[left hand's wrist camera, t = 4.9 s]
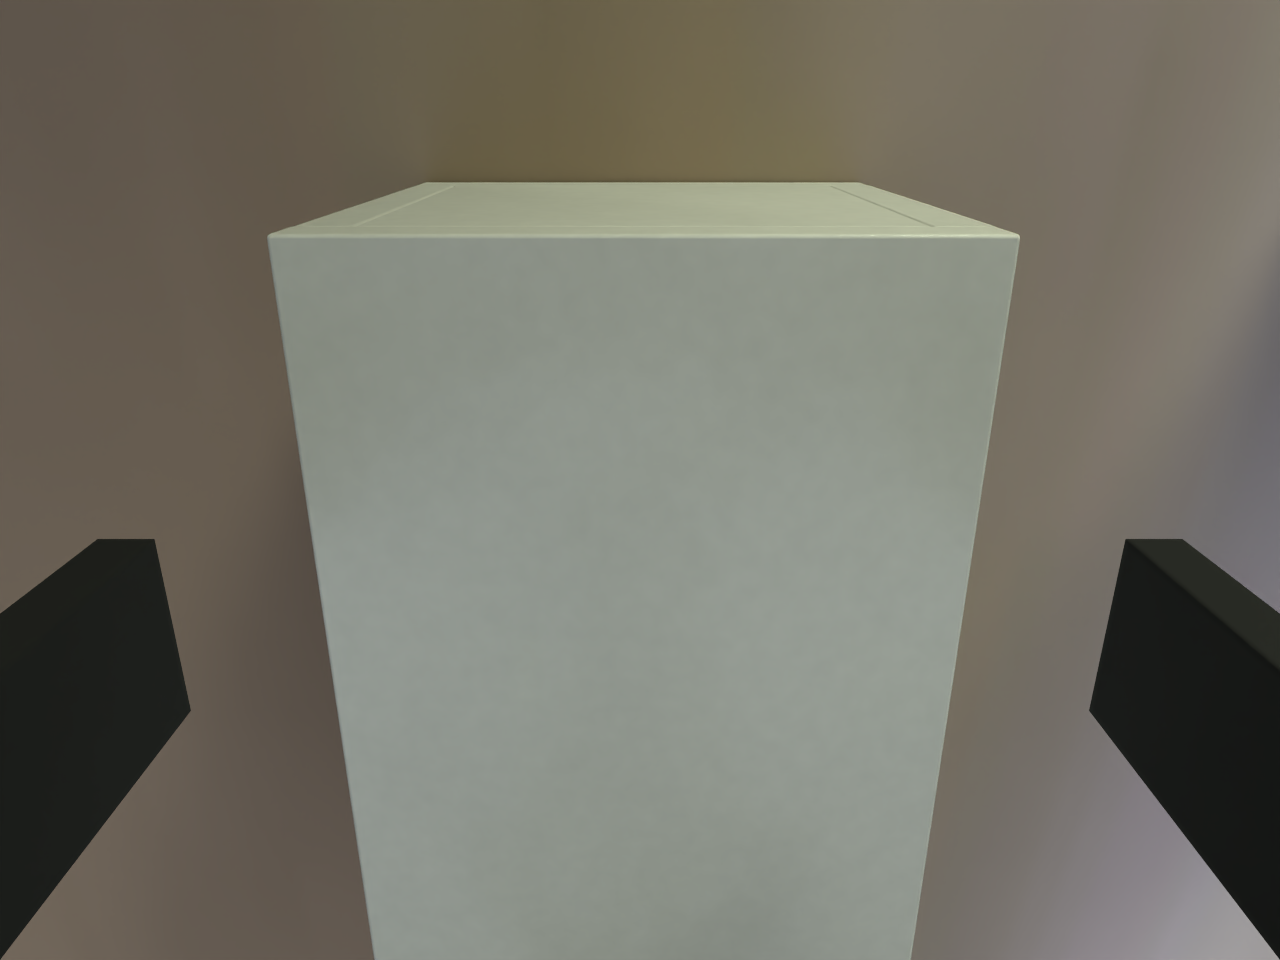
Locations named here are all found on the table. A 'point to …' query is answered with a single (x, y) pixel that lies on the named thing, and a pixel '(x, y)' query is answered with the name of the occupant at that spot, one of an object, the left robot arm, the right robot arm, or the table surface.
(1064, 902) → the table surface
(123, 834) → the table surface
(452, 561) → the cabinet
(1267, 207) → the table surface
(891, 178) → the table surface
